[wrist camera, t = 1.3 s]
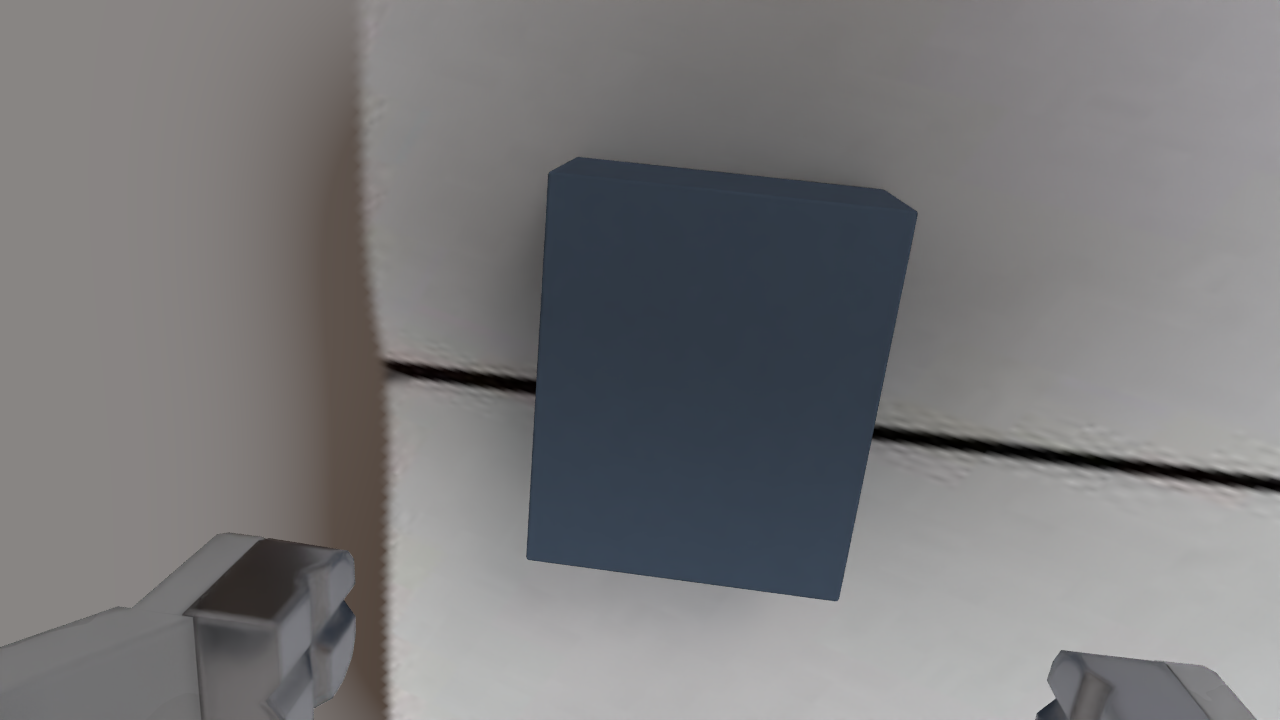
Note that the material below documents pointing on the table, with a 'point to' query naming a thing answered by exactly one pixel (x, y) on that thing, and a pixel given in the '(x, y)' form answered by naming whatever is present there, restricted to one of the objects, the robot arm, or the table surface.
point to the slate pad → (710, 372)
